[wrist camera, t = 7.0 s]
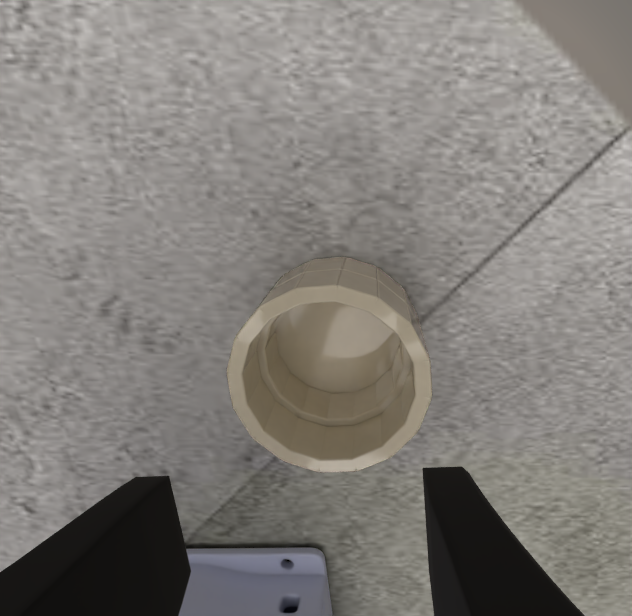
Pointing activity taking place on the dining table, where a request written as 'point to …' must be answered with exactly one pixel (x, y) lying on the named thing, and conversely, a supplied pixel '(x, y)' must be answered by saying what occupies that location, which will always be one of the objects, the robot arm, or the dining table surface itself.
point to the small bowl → (332, 367)
